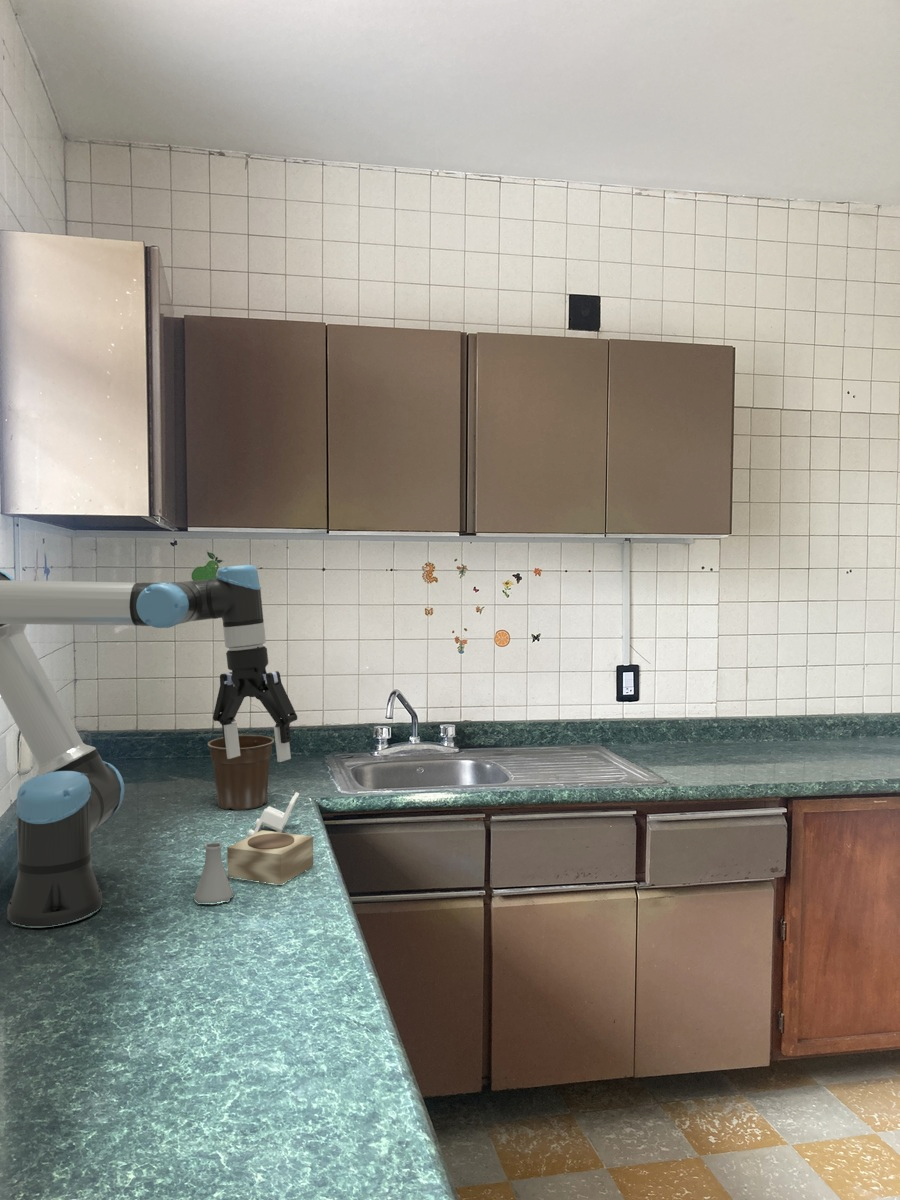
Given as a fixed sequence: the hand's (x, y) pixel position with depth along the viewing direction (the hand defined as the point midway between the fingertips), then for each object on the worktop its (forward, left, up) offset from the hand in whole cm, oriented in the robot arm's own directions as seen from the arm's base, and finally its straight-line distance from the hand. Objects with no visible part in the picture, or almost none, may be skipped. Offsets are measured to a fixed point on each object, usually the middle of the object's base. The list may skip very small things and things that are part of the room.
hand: (258, 758), depth 169 cm
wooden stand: (-1, +6, -24) cm, 25 cm away
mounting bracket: (-14, +28, -24) cm, 40 cm away
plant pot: (-35, +46, -24) cm, 63 cm away
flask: (-3, -10, -24) cm, 26 cm away
